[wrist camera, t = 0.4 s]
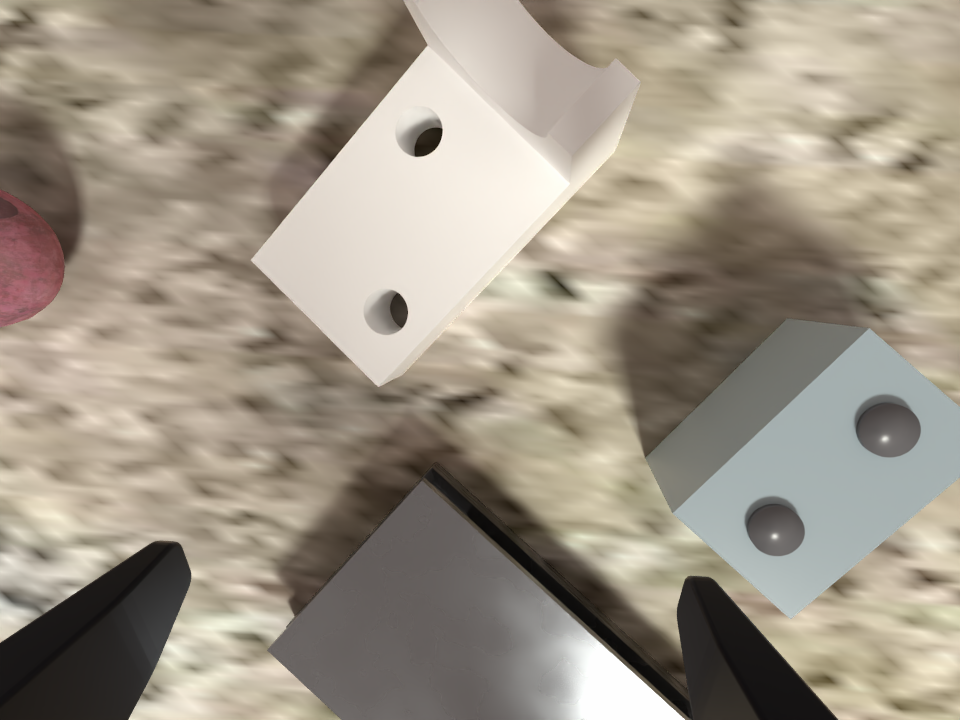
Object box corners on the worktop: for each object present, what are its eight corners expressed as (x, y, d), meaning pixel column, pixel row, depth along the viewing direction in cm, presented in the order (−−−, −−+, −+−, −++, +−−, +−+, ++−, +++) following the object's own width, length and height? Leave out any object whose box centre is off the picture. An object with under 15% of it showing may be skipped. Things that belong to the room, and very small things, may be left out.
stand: (735, 734, 24) (755, 784, 22) (567, 870, 26) (567, 930, 24) (435, 461, 25) (422, 480, 22) (294, 617, 27) (267, 650, 24)
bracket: (491, 32, 22) (455, -98, 15) (614, 152, 22) (640, 81, 15) (294, 264, 25) (179, 253, 17) (404, 373, 25) (335, 409, 17)
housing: (881, 401, 22) (1007, 445, 15) (732, 536, 23) (794, 624, 17) (786, 318, 22) (873, 328, 16) (644, 457, 23) (674, 516, 17)
